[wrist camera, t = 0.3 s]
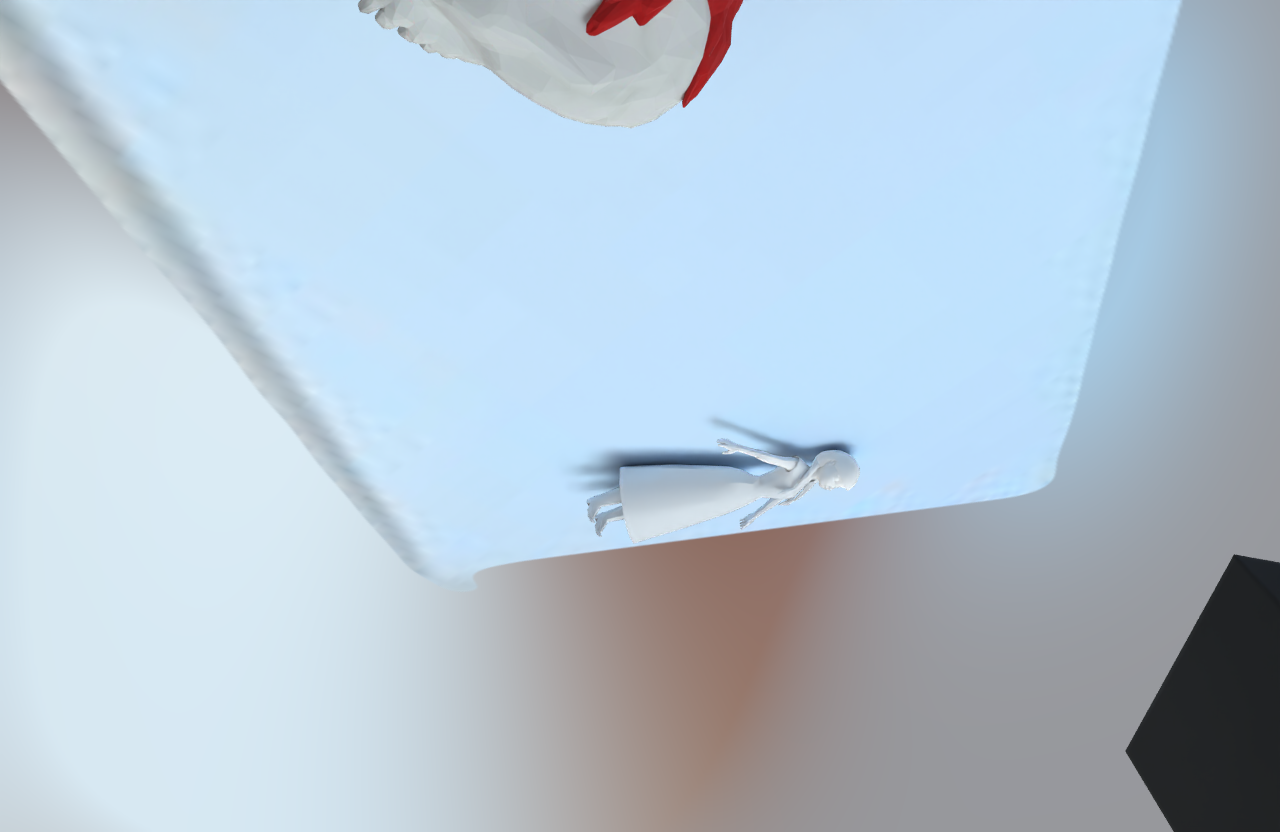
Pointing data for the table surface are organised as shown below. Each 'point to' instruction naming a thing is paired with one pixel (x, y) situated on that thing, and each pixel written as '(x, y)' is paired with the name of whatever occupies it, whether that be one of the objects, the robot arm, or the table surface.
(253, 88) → the table surface
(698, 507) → the woman figurine
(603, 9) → the candle
